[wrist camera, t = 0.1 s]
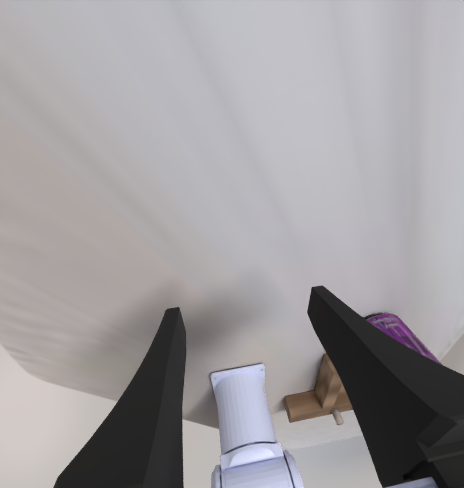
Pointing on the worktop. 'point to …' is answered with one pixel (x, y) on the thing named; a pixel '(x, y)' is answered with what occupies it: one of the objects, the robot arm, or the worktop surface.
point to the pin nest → (320, 397)
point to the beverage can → (400, 333)
